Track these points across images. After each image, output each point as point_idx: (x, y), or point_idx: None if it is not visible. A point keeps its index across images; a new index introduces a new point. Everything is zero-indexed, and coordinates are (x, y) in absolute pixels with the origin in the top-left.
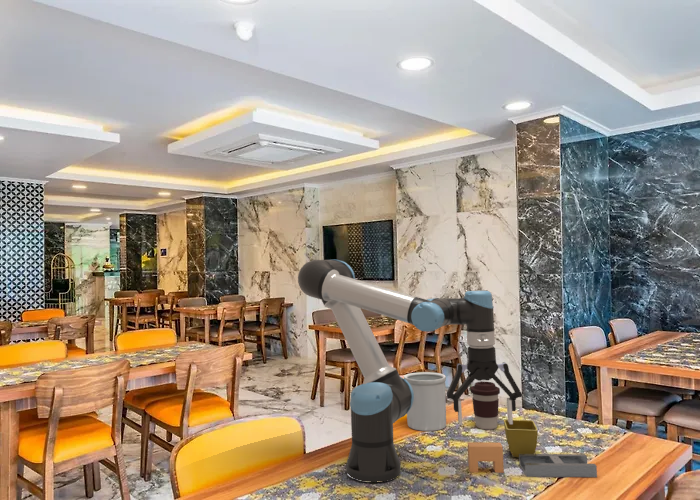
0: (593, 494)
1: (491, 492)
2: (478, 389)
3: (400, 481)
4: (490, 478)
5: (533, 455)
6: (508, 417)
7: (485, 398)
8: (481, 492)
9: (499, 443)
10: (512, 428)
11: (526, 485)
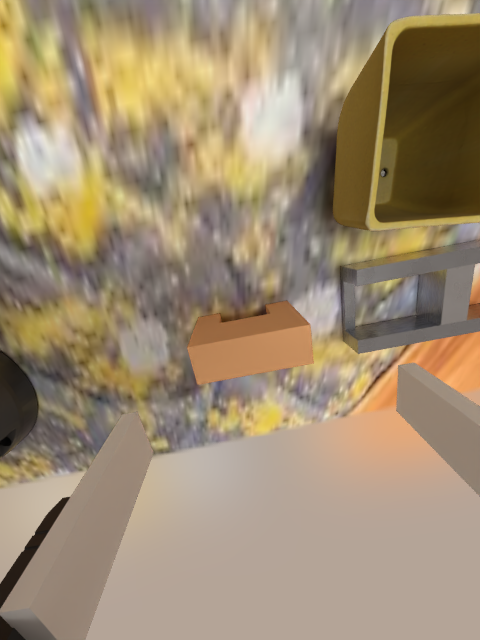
0: None
1: (256, 428)
2: None
3: (54, 424)
4: None
5: (399, 274)
6: (419, 404)
7: None
8: (236, 432)
9: (306, 335)
10: (403, 67)
11: (332, 384)
